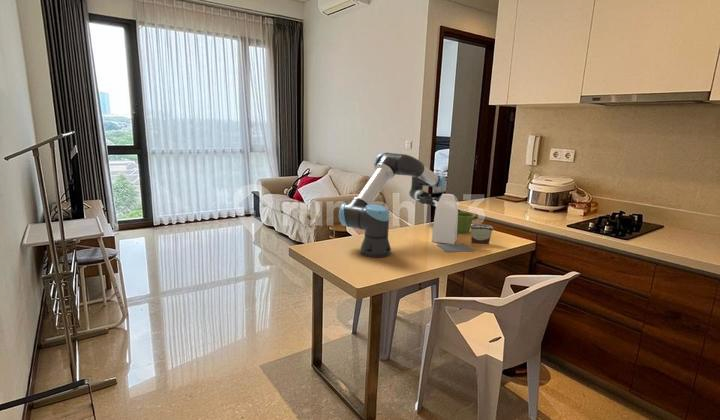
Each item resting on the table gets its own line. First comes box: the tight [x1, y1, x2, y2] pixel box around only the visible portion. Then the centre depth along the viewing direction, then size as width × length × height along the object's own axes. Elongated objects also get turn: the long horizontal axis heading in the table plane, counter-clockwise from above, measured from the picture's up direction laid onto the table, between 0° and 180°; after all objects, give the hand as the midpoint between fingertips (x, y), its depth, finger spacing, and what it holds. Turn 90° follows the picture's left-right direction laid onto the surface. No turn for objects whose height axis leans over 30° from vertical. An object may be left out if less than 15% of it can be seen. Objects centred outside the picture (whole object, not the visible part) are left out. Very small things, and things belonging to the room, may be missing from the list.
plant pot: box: [457, 211, 476, 235], centre depth 230 cm, size 12×12×11 cm
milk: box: [431, 193, 459, 244], centre depth 211 cm, size 12×12×26 cm
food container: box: [470, 223, 494, 246], centre depth 211 cm, size 12×6×10 cm, turn 84°
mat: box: [436, 242, 475, 253], centre depth 201 cm, size 16×12×1 cm
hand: (438, 204), depth 220 cm, fingers closed
